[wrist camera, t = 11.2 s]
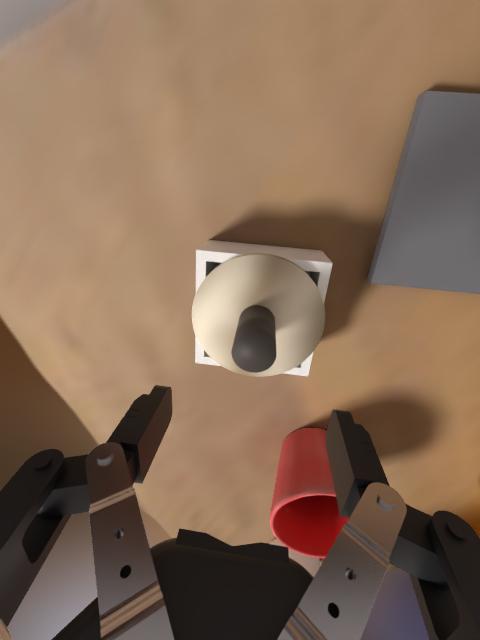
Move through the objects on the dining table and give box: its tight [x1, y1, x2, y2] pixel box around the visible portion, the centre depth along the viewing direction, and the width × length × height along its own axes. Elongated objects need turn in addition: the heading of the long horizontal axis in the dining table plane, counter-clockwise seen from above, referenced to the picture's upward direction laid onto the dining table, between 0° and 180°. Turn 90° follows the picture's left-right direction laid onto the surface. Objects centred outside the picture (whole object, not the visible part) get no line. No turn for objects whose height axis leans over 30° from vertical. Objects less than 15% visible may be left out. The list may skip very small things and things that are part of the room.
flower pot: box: [270, 428, 349, 558], centre depth 32 cm, size 11×11×10 cm
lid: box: [192, 253, 325, 377], centre depth 21 cm, size 11×11×6 cm
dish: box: [195, 240, 333, 376], centre depth 26 cm, size 11×11×5 cm
